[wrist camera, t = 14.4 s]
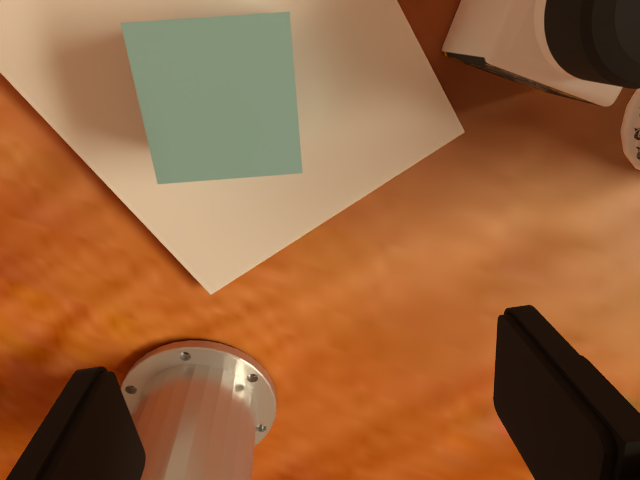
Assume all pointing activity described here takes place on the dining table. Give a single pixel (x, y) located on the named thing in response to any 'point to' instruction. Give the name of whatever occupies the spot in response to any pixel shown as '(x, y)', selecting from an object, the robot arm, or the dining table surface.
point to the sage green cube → (217, 95)
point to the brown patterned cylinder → (632, 130)
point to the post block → (239, 193)
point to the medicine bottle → (552, 44)
